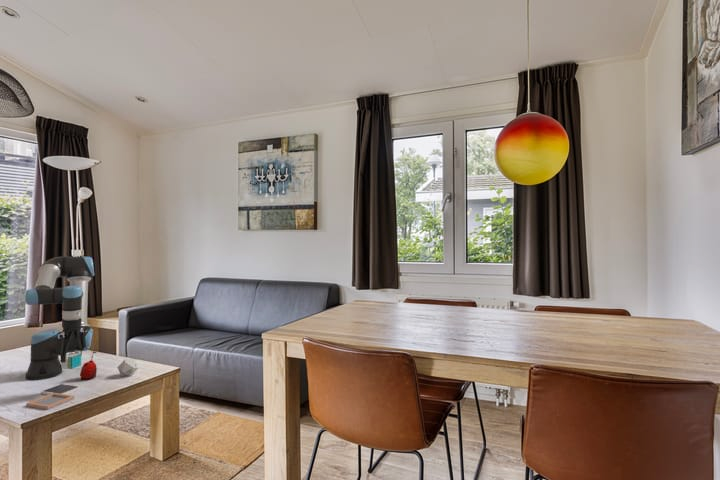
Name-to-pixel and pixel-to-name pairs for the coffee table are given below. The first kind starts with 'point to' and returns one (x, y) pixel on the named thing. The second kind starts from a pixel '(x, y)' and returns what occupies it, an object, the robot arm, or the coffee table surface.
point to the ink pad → (61, 389)
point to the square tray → (50, 401)
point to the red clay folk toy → (88, 370)
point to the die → (127, 367)
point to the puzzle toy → (73, 360)
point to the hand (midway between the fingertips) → (71, 366)
